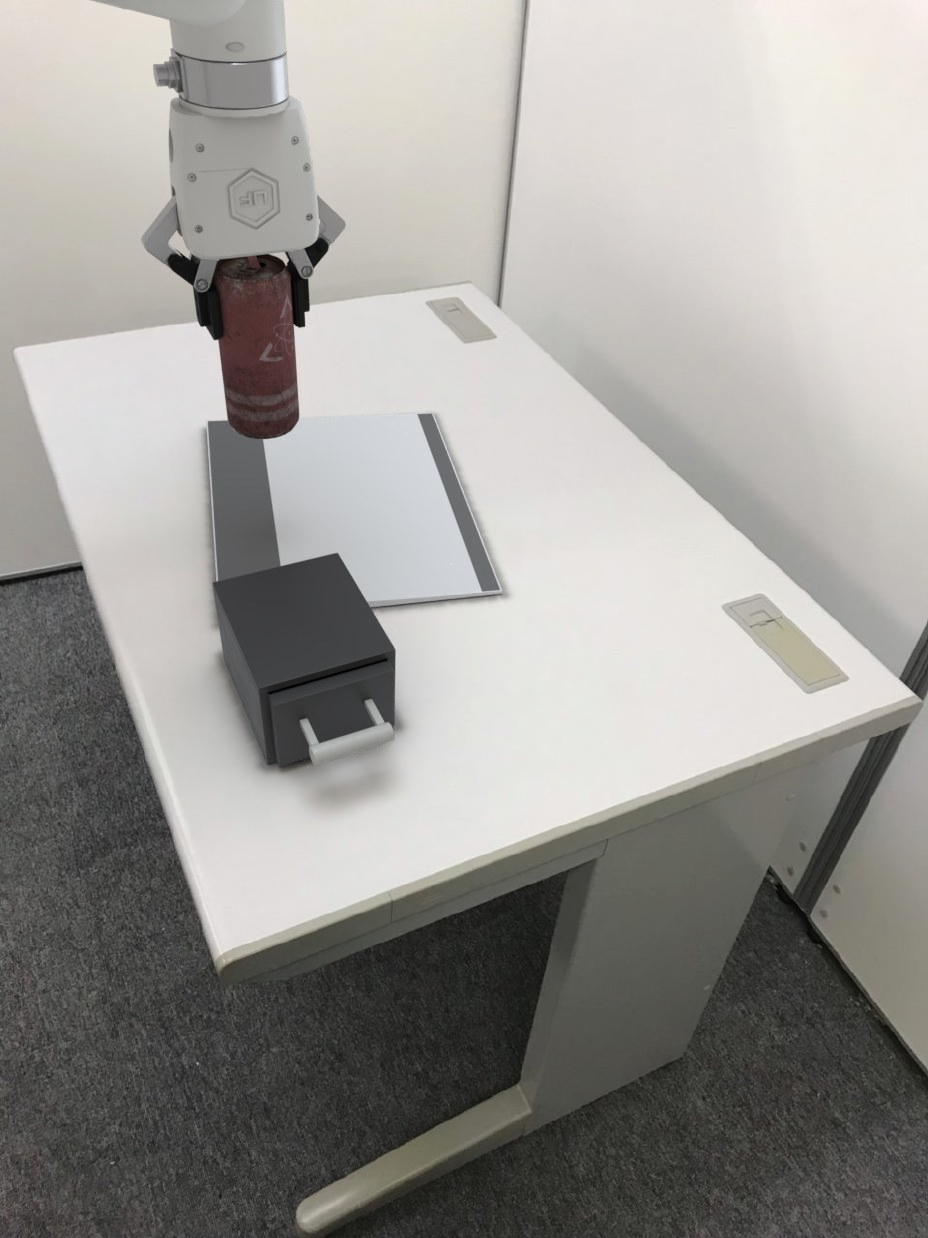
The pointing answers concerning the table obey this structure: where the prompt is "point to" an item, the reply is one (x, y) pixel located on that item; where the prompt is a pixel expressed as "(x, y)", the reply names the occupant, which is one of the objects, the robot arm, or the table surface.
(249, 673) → the dark grey cabinet
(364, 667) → the drawer
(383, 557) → the white grey flat panel
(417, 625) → the table surface
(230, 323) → the can
